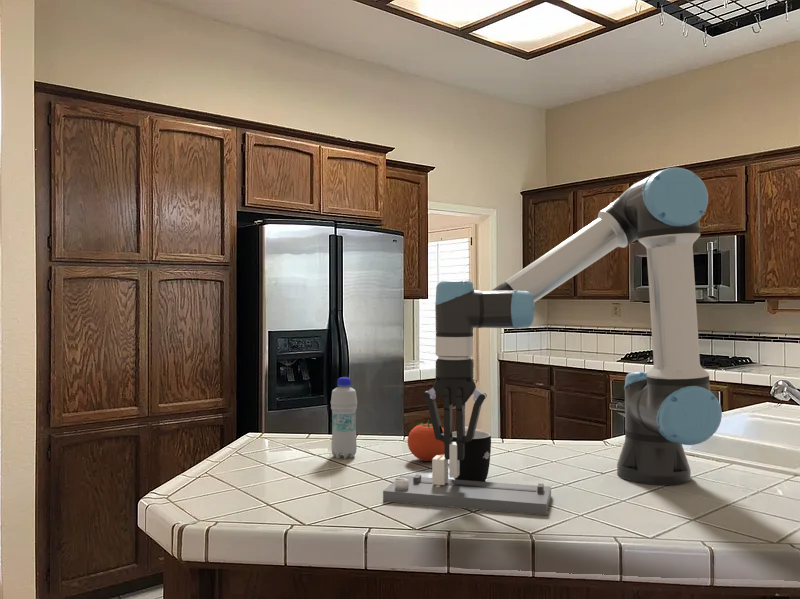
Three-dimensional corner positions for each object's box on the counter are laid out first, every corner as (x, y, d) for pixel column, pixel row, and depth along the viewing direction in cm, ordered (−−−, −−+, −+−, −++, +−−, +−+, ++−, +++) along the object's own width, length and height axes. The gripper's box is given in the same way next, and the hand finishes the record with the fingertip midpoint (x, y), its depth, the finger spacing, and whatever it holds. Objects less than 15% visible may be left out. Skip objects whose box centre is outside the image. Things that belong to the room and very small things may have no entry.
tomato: (458, 462, 160) (458, 420, 160) (424, 468, 155) (423, 425, 155) (432, 454, 169) (432, 415, 169) (399, 459, 163) (399, 418, 163)
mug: (488, 488, 137) (488, 439, 138) (445, 485, 140) (445, 437, 140) (495, 474, 149) (495, 428, 149) (455, 471, 151) (455, 427, 151)
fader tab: (448, 480, 135) (448, 454, 135) (444, 485, 131) (444, 458, 131) (436, 479, 136) (436, 454, 136) (432, 484, 132) (432, 458, 132)
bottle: (362, 455, 167) (362, 376, 168) (346, 461, 162) (346, 378, 162) (341, 452, 171) (341, 375, 171) (325, 457, 165) (324, 377, 166)
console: (551, 496, 131) (551, 478, 131) (546, 515, 120) (546, 494, 120) (400, 485, 140) (400, 467, 140) (383, 501, 129) (383, 481, 129)
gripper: (489, 357, 135) (489, 473, 134) (427, 355, 138) (427, 469, 138) (483, 360, 127) (483, 483, 127) (418, 358, 131) (418, 478, 131)
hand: (454, 475), depth 133 cm, fingers closed
